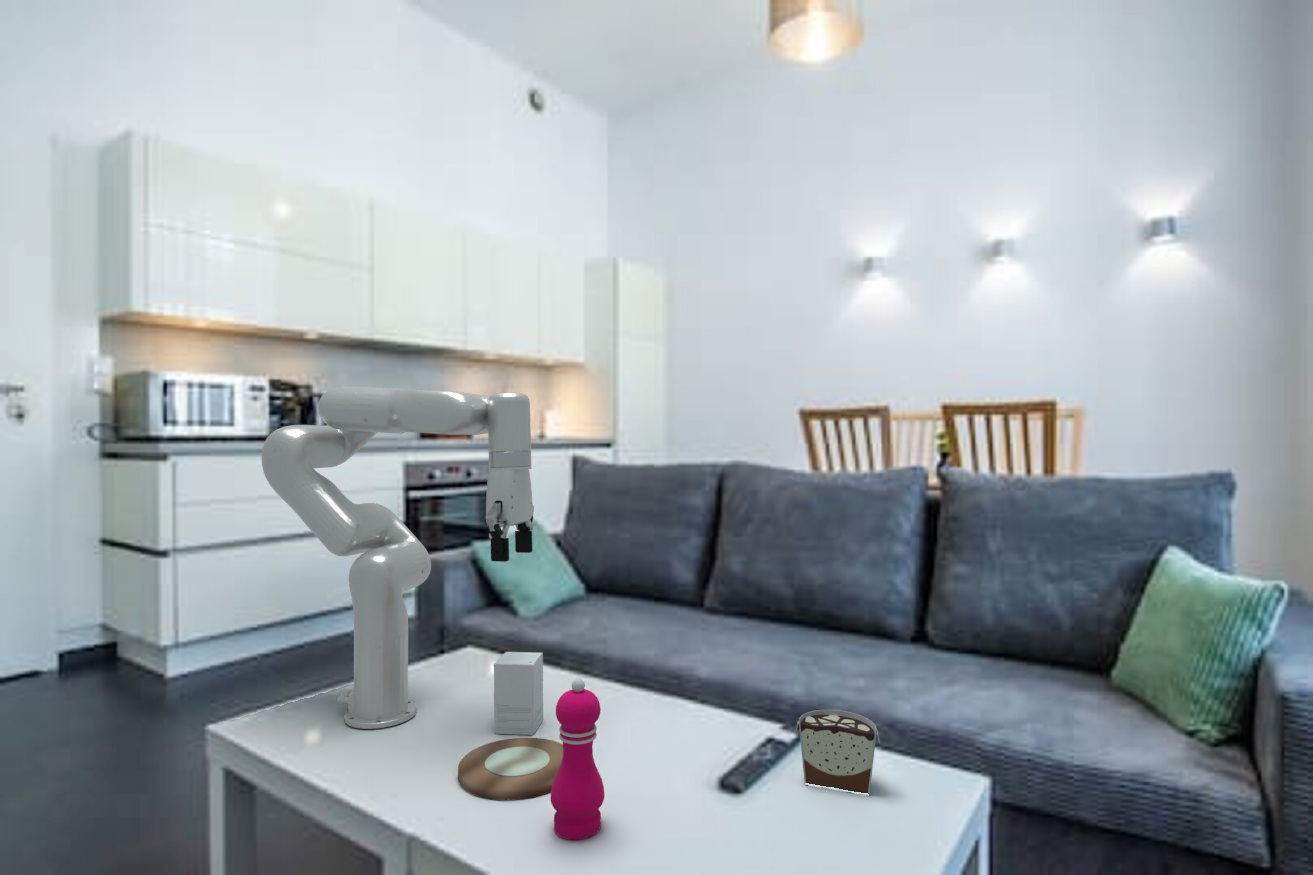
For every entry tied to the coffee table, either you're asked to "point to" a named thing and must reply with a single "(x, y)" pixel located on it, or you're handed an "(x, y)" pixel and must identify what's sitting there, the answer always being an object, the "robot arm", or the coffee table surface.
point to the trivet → (511, 768)
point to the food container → (837, 749)
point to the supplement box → (518, 693)
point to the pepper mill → (577, 766)
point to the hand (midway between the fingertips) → (512, 556)
